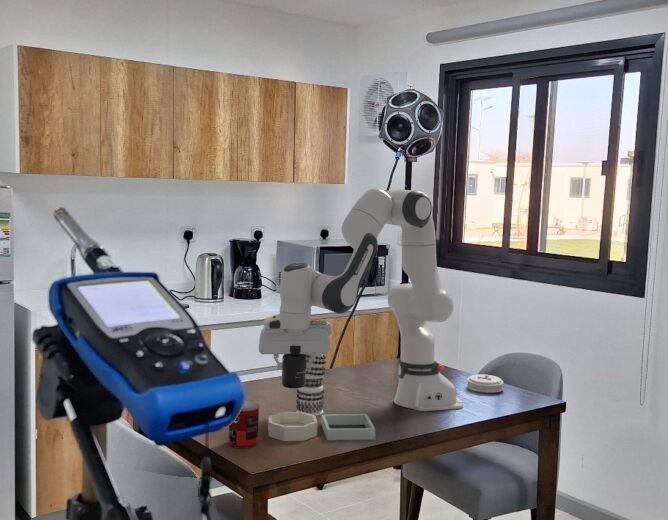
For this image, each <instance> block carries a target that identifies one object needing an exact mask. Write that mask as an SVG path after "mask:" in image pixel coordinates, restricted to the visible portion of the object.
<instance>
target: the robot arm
mask: <svg viewBox="0 0 668 520" xmlns="http://www.w3.org/2000/svg"><path fill="white" fill-rule="evenodd" d="M432 207H433V205H432V202H431V200H430V198H429V196H428V195H427V194H426V193H424V192H423V191H419V190H409V189H395V190H383V189H380V188H370V189H368V190H367V191H366V192H365V193H364V194H363V195H362V196H361V197H360V198H359V199H358V200H357V201H356V202H355V204H354V205H353V207H352V208H351V209H350V210H349V212H348V213H347V215H346V216H345V218H344V220H343V222H342V225H341V234H342V237H343V239H344V240H345V242H346V243H347V244H348V245H349V246H350V247H351V248H352V249H353V252H352V255H351V257H350V258H349V260H348V263H347V264H346V266H345V269H344V271H343V272H342V273H340V274H339V275H336V276H335V275H334V276H333V275H328V274H325V273H322V272H319V271H317V270H316V269H313V267H311V266H310V264H308V263H305V262H298V263H290V264H288V265H286V266H284V267H283V270H282V271H281V276H280V284H279V285H280V286H279V297H280V302H281V303H280V307H279V313H278V314H274V315H271V316H269V317H265V318H264V320H263V328H262V329H261V331H260V334H259V340H258V341H259V342H258V352H259V353H260V354H261V355H272V357H273V360H274V361H275V363H276V370H277V371H279V370H280V371H282V366H283V364H282V361H281V362H280V360H279V357H280V355H284V354H290V353H291V352H290V346H301V352H300V354H310V357H311V359H310V360H309V362H306V369H311V364H312V363H313V361H314V359H315V355H316V354H323V355H329V353H330V352H331V340H330V336H331V334H332V325H331V323H330V322H327V320H321V321H317V320H312V319H311V318H312V307H316V308H319V309H325V310H328V311H331V312H333V313H336V314H346V313H347V312H349V311H350V310H351V309H352V308H353V307H354V306H355V304H356V303H357V301H358V300H357V299H358V296H359V292H360V289H361V286H362V284H363V282H364V279H365V277H366V275H367V272H368V271H369V269H370V266H371V264H372V262H373V260H374V257H375V255H376V253H377V250H378V237H379V235H380V233H381V231H382V229H383V228H384V226H385V225H386V224H387V225H392V226H400V228H401V237H400V238H401V241H400V242H401V266H402V267H401V268H402V270H403V271H404V273H405V274H406V275H407V276H408V278H409V280H410V283H399V284H396V285H393V286H392V288H391V289H390V290H389V292H388V295H387V304H388V307H389V308H390V310H391V311H392V312H393V314H394V316H395V319H396V321H397V325H398V328H399V333H400V359H399V361H398V369H397V370H398V372H397V374H398V382H397V384H398V385H397V388H396V393H395V397H394V399H393V403H394V404H396V405H398V406H400V407H403V408H408V409H413V410H416V411H419V412H429V411H430V412H431V411H442V410H453V409H462V408H463V407H464V403H463V400H462V399H461V398H460V397H458V396H457V391H456V388H455V386H454V383H452V382H451V381H450V380H449V379H448V378H447V377H445V375H443V374H441V372H444V370H445V366H444V365H443V364H440V363H439V362H437V361H436V360H435V354H436V351H435V350H436V338H435V336H434V334H433V333H432V332H431V331H430V329H429V327H428V324H427V323H443V322H446V321H448V320H449V318H451V316H452V314H453V311H454V301H453V298H452V296H451V295H450V294H449V293H448V291H447V290H446V289H445V287H444V284H443V282H442V280H441V278H440V274H439V270H438V264H437V241H436V240H437V239H436V238H437V236H436V230H435V229H436V228H435V222H434V219H433V218H434V217H433V215H432V211H433V208H432Z"/></svg>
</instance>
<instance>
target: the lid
mask: <svg viewBox="0 0 668 520" xmlns="http://www.w3.org/2000/svg"><path fill="white" fill-rule="evenodd" d="M466 381H467V385H466V388H467V389H468V390H471V391H474V392H478V393H479V392H481V393H499V392H502V391H503V390H504V388H503V384H504V381H503V379H502V378H500V377H498V376H495V375H489V374H485V373H483V374H480V373H479V374H472V375H470V376H469V377H467V378H466Z"/></svg>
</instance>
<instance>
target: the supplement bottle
mask: <svg viewBox="0 0 668 520" xmlns="http://www.w3.org/2000/svg"><path fill="white" fill-rule="evenodd" d="M290 352H291V353H290V354H282V359H281V360H282V361H281V362H282V364H283V366H282V370H281V386H282V387H284V388H287V389H298V388H302V387H304V386H305V382H306V355H305V354H300V352H301V346H290Z"/></svg>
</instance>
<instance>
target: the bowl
mask: <svg viewBox="0 0 668 520" xmlns="http://www.w3.org/2000/svg"><path fill="white" fill-rule="evenodd" d="M267 433H268V437H269V438H273V439H276V440H279V441H281V442H301V441H302V442H305V441H307V440H310V439H312V438H315V437H317V436H318V420H317V416H314V415H311V414H307V413H303V412H297V411H280V412H277V413H274V414H271V415H269V416H268V417H267Z"/></svg>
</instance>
